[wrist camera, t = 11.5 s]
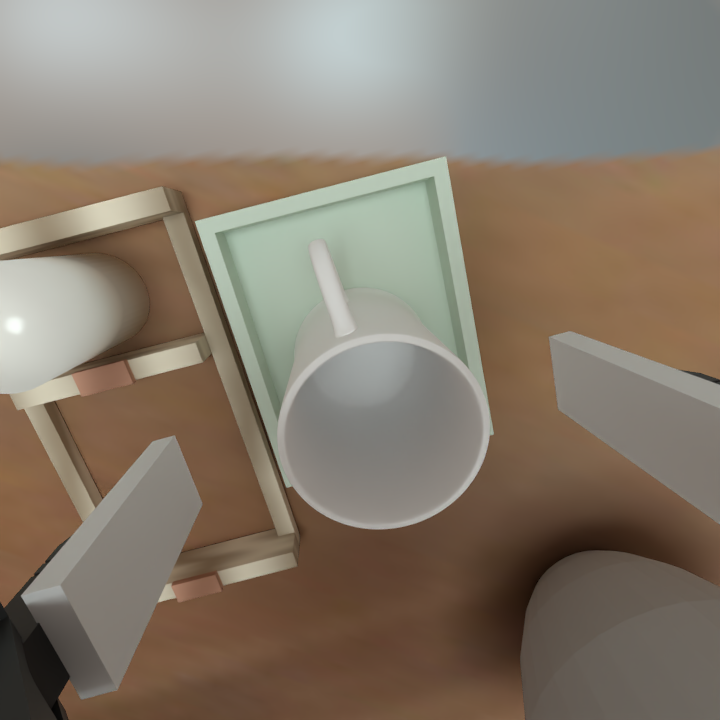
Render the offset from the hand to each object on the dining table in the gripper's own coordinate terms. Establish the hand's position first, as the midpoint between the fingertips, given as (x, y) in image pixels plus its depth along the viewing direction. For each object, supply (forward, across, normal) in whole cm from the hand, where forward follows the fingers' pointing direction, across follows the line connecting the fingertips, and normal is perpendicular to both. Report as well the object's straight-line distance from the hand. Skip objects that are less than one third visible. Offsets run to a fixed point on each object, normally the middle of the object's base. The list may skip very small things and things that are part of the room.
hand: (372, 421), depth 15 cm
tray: (+14, +1, 0) cm, 14 cm away
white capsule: (+14, -14, +6) cm, 21 cm away
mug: (+13, 0, 0) cm, 13 cm away
